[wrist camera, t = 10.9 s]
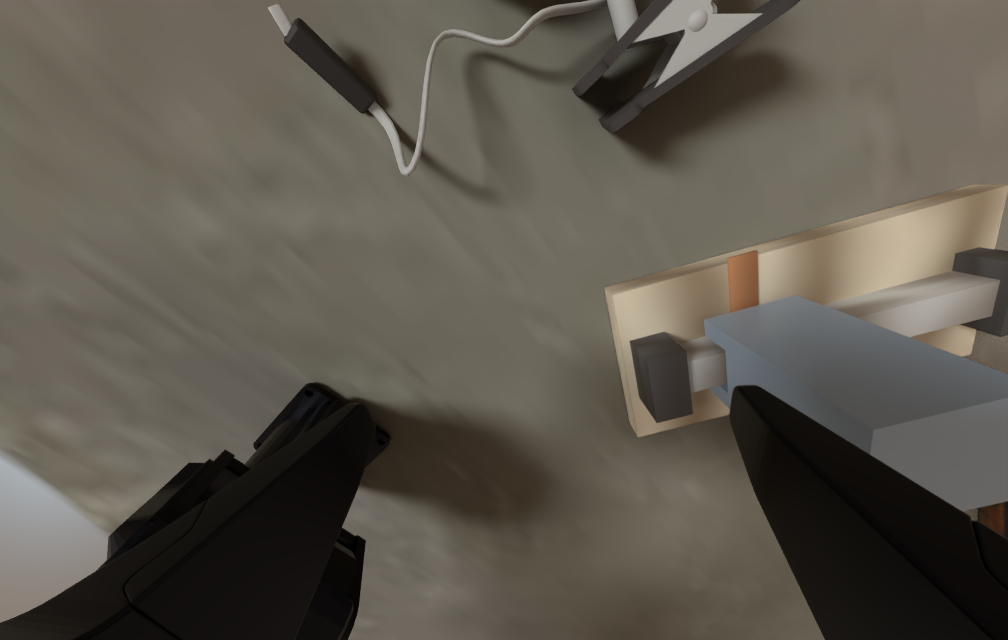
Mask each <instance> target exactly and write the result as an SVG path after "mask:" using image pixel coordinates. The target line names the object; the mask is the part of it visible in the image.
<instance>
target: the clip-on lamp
mask: <svg viewBox="0 0 1008 640" xmlns="http://www.w3.org/2000/svg"><path fill="white" fill-rule="evenodd" d="M799 1H800V0H770V1H769V2H767V3H765V4H764V5H762V6H761V7H759V8H758V9H757V10H755V11H754V12H752V13H751V14H717V12H718V10H717V6H716V4H715V3H714V2H712V0H653V2H652V3H651V4H650V5H649V6H648V7H647V8H646V10H645V11H644V12H643V13H642V14H641V15H640V16H639V17H638V13H637V8H636V4H635V0H588V1H583V2H576V3H568V4H561V5H554V6H551V7H548V8H545V9H542V10H540V11H539V12H538V13H536V14H535V15H533V16H532V17H531V18H530V19H529V20H528V21H527V22H526V23H525V24H524V25H523V27H522V28H521V29H520V30H519V31H518V32H517V33H516V34H515V35H513V36H512V37H511V38H508V39H505V40H495V39H491V38H486V37H483V36H480V35H477V34H474V33H470V32H467V31H463V30H456V29H451V30H447V31H443V32H442V33H441V34H440V35H439V36H438V37H437V38H436V39H435V41H434V42H433V44H432V47H431V50H430V53H429V56H428V59H427V65H426V72H425V78H424V85H423V95H422V106H421V116H420V125H419V134H418V139H417V144H416V149H415V153H414V156H413V158H412V161H411V164H410V165H409V166H408V167H407V166H406V163H405V159H404V155H403V150H402V146H401V142H400V139H399V135H398V133H397V131H396V128H395V126H394V124H393V122H392V120H391V119H390V118H389V117H388V115H387V114H386V113H385V111H384V110H383V109H382V108H381V107H380V106H379V105H378V104H377V103H376V102H375V101H376V93H375V91H374V90H373V89H372V88H371V87H370V86H369V85H368V84H367V83H366V82H365V81H364V80H363V79H362V78H361V77H360V76H359V75H358V74H357V73H356V72H355V71H354V70H352V69H351V68H350V67H349V66H348V65H347V64H346V63H345V62H344V61H343V60H342V59H341V58H340V57H339V56H338V55H337V54H336V53H335V52H334V51H333V50H332V49H331V48H330V47H329V46H328V45H327V44H326V43H325V42H324V41H323V40H322V39H321V38H320V37H319V36H318V35H317V34H316V33H315V32H314V31H313V30H312V29H311V28H310V27H309V26H308V25H307V24H306V23H305V22H304V21H303V20H302V19H300V18H297V19H295V21H294V22H293V24H292V23H291V21H290V19H289V17H288V16H287V14H286V12H285V10H284V9H283V7H282V5H281V4H276V5H273V6H270V7H268V9H269V11H270V12H271V14H272V16H273V17H274V19H275V21H276V22H277V24H278V26H279V27H280V29H281V31H282V32H283V34H284V35H285V37H284V43H285V44H286V45H287V46H288V47H289V48H290V49H291V50H292V51H293V52H294V53H296V54H297V55H298V56H299V57H300V58H301V59H302V60H303V61H304V62H305V63H306V64H308V65H309V66H310V67H311V68H312V69H313V70H314V71H315V72H316V73H317V74H319V75H320V76H321V77H322V78H323V79H324V80H325V81H326V82H327V83H328V84H330V85H331V86H332V87H333V88H334V89H335V90H336V91H337V92H338V93H339V94H341V95H342V96H343V97H344V98H345V99H346V100H347V101H348V102H349V103H350V104H352V105H353V106H354V107H355V108H356V109H357V110H358V111H359V112H360V113H362V114H363V113H365V112H366V111H367V110H369V111H370V112H371V113H372V114H373V115H374V116H375V117H376V118H377V119H378V121H379V122H380V123H381V125H382V126H383V127H384V128H385V130H386V132H387V134H388V136H389V138H390V140H391V143H392V146H393V149H394V152H395V156H396V160H397V164H398V167H399V169H400V172H401V174H402V175H406V176H409V175H410V174H411V173H412V172H413V171H414V170H415V168H416V166H417V164H418V161H419V159H420V156H421V151H422V147H423V142H424V138H425V129H426V120H427V110H428V98H429V86H430V78H431V69H432V62H433V59H434V55H435V51H436V48H437V46H438V45H439V44H440V43H441V42H442V41H443V40H444V39H447V38H451V37H460V38H467V39H470V40H474V41H477V42H480V43H484V44H487V45H492V46H496V47H510V46H514V45H516V44H518V43H519V42H520V41H522V40H523V39H524V38H525V37H526V36H527V35H528V33H529V32H530V31H531V30H532V29H533V28H534V27H535V26H536V25H538V24H539V23H540V22H542V21H543V20H545V19H548V18H551V17H554V16H562V15H570V14H578V13H583V12H587V11H592V10H595V9H598V8H601V7H603V6H606V5H608V7H609V11H610V15H611V18H612V22H613V26H614V30H615V34H616V37H617V42H616V43H615V45H614V46H613V47H612V48H611V49H610V50H609V51H608V52H607V53H606V54H605V55H604V57H603V58H602V59H601V60H600V61H599V62H598V63H597V64H596V65H595V66H594V67H593V68H592V69H591V70H590V71H589V72H588V73H587V74H586V75H585V76H584V77H583V78H582V79H581V80H580V81H579V82H578V83H577V84H576V85H575V86H574V87H573V88H572V90H573V91H574V93H575V94H576V96H581V95H582V94H583V93H584V92H585V91H586V90H587V89H588V88H589V87H590V86H591V85H592V84H593V83H594V82H596V81H597V80H598V79H599V78H600V77H601V76H602V75H603V74H604V73H605V72H606V71H607V70H608V68H609V67H610V66H611V65H612V64H613V62H614V61H615V60H616V59H617V58H618V57H619V56H620V55H621V54H622V53H623V52H624V51H625V50H626V49H629V48H633V47H637V46H641V45H645V44H648V43H652V42H656V41H660V40H665V42H666V43H667V45H666V47H665V49H664V51H663V53H662V54H661V56H660V58H659V60H658V62H657V63H656V65H655V67H654V69H653V71H652V72H651V74H650V76H649V78H648V80H647V82H646V83H645V85H644V87H643V89H642V90H640V91H639V92H637V93H636V94H634V95H633V96H632V97H630V98H629V99H627V100H626V101H623V102H621V103H619V104H618V105H617V106H615V107H614V108H613V109H611V110H610V111H609V112H607V113H606V114H605V115H604V116H602V117H601V118H600V119H599V121H600V123H601V125H602V127H603V128H605V129H607V130H608V131H610V132H611V133H614V132H615V131H617V130H618V129H620V128H621V127H623V126H624V125H625V124H627V123H628V122H630V121H631V120H632V119H634V118H635V117H636V116H638V115H639V114H640V113H641V112H642V111H641V109H642V108H644V107H645V106H647V105H648V104H650V103H651V102H653V101H654V100H656V99H657V98H659V97H660V96H662V95H663V94H665V93H666V92H668V91H669V90H671V89H672V88H674V87H675V86H677V85H678V84H680V83H681V82H683V81H684V80H686V79H687V78H689V77H690V76H692V75H693V74H695V73H696V72H697V71H699V70H700V69H702V68H703V67H705V66H706V65H708V64H709V63H711V62H712V61H714V60H715V59H717V58H718V57H720V56H721V55H723V54H724V53H726V52H727V51H729V50H730V49H732V48H733V47H735V46H736V45H738V44H739V43H741V42H742V41H744V40H745V39H747V38H748V37H750V36H751V35H752V34H754V33H755V32H757V31H758V30H760V29H761V28H763V27H764V26H766V25H767V24H769V23H770V22H772V21H773V20H775V19H776V18H778V17H779V16H781V15H782V14H784V13H785V12H787V11H788V10H789V9H791V8H792V7H793V6H795V5H796V4H797V3H798V2H799Z"/></svg>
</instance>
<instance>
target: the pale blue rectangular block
mask: <svg viewBox="0 0 1008 640" xmlns="http://www.w3.org/2000/svg"><path fill="white" fill-rule="evenodd" d="M704 328H705V336H706V337H708V338H709V339H710V340H712V341H713V342H715V343H716V344H717V345H719V346H720V347H721V348H723V349H724V350H725V352H726V368H727V384H724V385H720V386H716V387H713V388H710V391H711V392H712V393H713V394H714V395H715V396H716V397H718V398H719V399H720V400H721V401H722V402H723V403H724V404H725V405H726V406H727V407H728V408H729V409H730V405H731V399H732V392H733V389H734V387H735V386H738V385H758V386H760V387H761V388H763V389H765V390H766V391H768V392H770V393H771V394H773V395H774V396H776V397H778V398H779V399H781V400H783V401H784V402H786V403H787V404H789V405H791V406H792V407H794V408H796V409H797V410H799V411H800V412H802V413H804V414H805V415H807V416H809V417H810V418H812V419H813V420H815V421H817V422H818V423H820V424H822V425H823V426H825V427H826V428H828V429H830V430H831V431H833V432H834V433H836V434H838V435H839V436H841V437H843V438H844V439H846V440H847V441H849V442H851V443H852V444H854V445H856V446H857V447H859V448H860V449H862V450H864V451H865V452H867V453H869V454H870V455H872V456H873V457H875V458H877V459H878V460H880V461H882V462H883V463H885V464H886V465H888V466H890V467H891V468H893V469H895V470H896V471H898V472H899V473H901V474H903V475H904V476H906V477H907V478H909V479H911V480H912V481H914V482H916V483H917V484H919V485H920V486H922V487H924V488H925V489H927V490H929V491H930V492H932V493H933V494H935V495H937V496H938V497H940V498H942V499H943V500H945V501H946V502H948V503H950V504H951V505H953V506H955V507H956V508H958V509H959V510H961V511H966V510H971V509H975V508H980V507H984V506H989V505H993V504H998V503H1002V502H1007V501H1008V374H1006V373H1004V372H1001V371H998V370H996V369H993V368H990V367H988V366H985V365H982V364H980V363H977V362H974V361H971V360H969V359H966V358H963V357H961V356H958V355H955V354H953V353H950V352H947V351H945V350H942V349H939V348H937V347H934V346H931V345H929V344H926V343H923V342H921V341H918V340H915V339H913V338H910V337H907V336H905V335H902V334H899V333H896V332H894V331H891V330H888V329H886V328H883V327H880V326H878V325H875V324H872V323H870V322H867V321H864V320H862V319H859V318H856V317H854V316H851V315H848V314H846V313H843V312H840V311H838V310H835V309H832V308H830V307H827V306H824V305H822V304H819V303H816V302H813V301H811V300H808V299H805V298H803V297H800V296H797V295H794V296H791V297H787V298H783V299H779V300H776V301H772V302H768V303H765V304H761V305H757V306H753V307H750V308H746V309H742V310H739V311H735V312H731V313H727V314H724V315H720V316H716V317H712V318H709V319H705V320H704Z"/></svg>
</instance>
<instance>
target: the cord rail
mask: <svg viewBox="0 0 1008 640" xmlns="http://www.w3.org/2000/svg"><path fill="white" fill-rule="evenodd" d="M1007 192H1008V185H969V186H966V187H962V188H958V189H955V190H951V191H948V192H944V193H941V194H937V195H933V196H930V197H926V198H923V199H919V200H916V201H912V202H908V203H905V204H901V205H898V206H894V207H891V208H887V209H883V210H880V211H876V212H873V213H869V214H866V215H862V216H858V217H855V218H851V219H848V220H844V221H841V222H837V223H833V224H830V225H826V226H823V227H819V228H816V229H812V230H808V231H805V232H801V233H798V234H794V235H791V236H787V237H783V238H780V239H776V240H773V241H769V242H766V243H762V244H759V245H755V246H751V247H748V248H744V249H741V250H737V251H734V252H730V253H726V254H723V255H719V256H716V257H712V258H709V259H705V260H701V261H698V262H694V263H691V264H687V265H684V266H680V267H676V268H673V269H669V270H666V271H662V272H659V273H655V274H651V275H648V276H644V277H641V278H637V279H634V280H630V281H626V282H623V283H619V284H616V285H612V286H609V287H605V288H604V289H605V295H606V300H607V305H608V311H609V316H610V321H611V327H612V332H613V337H614V343H615V348H616V353H617V359H618V364H619V369H620V374H621V380H622V385H623V390H624V396H625V401H626V406H627V412H628V417H629V422H630V424H631V426H632V428H633V430H634V431H635V433H636V435H637V437H642V436H646V435H650V434H654V433H658V432H662V431H666V430H670V429H674V428H678V427H682V426H686V425H690V424H694V423H698V422H702V421H706V420H710V419H714V418H718V417H722V416H726V415H729V412H730V409H729V408H728V407H727V406H726V405H725V404H724V403H723V402H722V401H721V400H720V399H719V398H718V397H716V396H715V395H714V394H713V393H712V392H711V391H710V388H713V387H716V386H720V385H724V384H727V368H726V352H725V350H724V349H723V348H721V347H720V346H719V345H717V344H716V343H715V342H713V341H712V340H710V339H709V338H708V337H706V336H705V328H704V320H705V319H709V318H712V317H716V316H720V315H724V314H727V313H731V312H735V311H739V310H742V309H746V308H750V307H753V306H757V305H761V304H765V303H768V302H772V301H776V300H779V299H783V298H787V297H791V296H794V295H797V296H800V297H803V298H805V299H808V300H811V301H813V302H816V303H819V304H822V305H824V306H827V307H830V308H832V309H835V310H838V311H840V312H843V313H846V314H848V315H851V316H854V317H856V318H859V319H862V320H864V321H867V322H870V323H872V324H875V325H878V326H880V327H883V328H886V329H888V330H891V331H894V332H896V333H899V334H902V335H905V336H907V337H910V338H913V339H915V340H918V341H921V342H923V343H926V344H929V345H931V346H934V347H937V348H939V349H942V350H945V351H947V352H950V353H953V354H955V355H958V356H961V357H962V356H966V355H970V354H971V352H972V347H973V343H974V339H975V334H976V330H979V331H983V332H986V333H989V334H992V335H996V336H999V337H1002V336H1006V335H1008V251H1003V250H996V249H995V245H996V241H997V237H998V232H999V228H1000V223H1001V219H1002V214H1003V210H1004V206H1005V201H1006V197H1007Z"/></svg>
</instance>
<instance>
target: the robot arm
mask: <svg viewBox="0 0 1008 640" xmlns="http://www.w3.org/2000/svg"><path fill="white" fill-rule="evenodd" d="M308 390H311V391H312V392H313V393H310V392H309V391H308ZM729 418H730V423H731V426H732V429H733V432H734V435H735V438H736V441H737V444H738V447H739V450H740V452H741V455H742V458H743V461H744V464H745V467H746V470H747V473H748V475H749V478H750V481H751V484H752V487H753V489H754V492H755V494H756V496H757V499H758V501H759V503H760V505H761V507H762V509H763V511H764V514H765V516H766V518H767V520H768V522H769V524H770V526H771V528H772V530H773V532H774V534H775V536H776V539H777V541H778V543H779V545H780V547H781V549H782V551H783V553H784V555H785V557H786V559H787V561H788V564H789V566H790V568H791V570H792V572H793V574H794V576H795V578H796V580H797V582H798V584H799V586H800V589H801V591H802V593H803V595H804V597H805V599H806V601H807V603H808V605H809V607H810V609H811V611H812V614H813V616H814V618H815V620H816V622H817V624H818V626H819V628H820V630H821V632H822V634H823V636H824V639H825V640H1008V539H1007V538H1005V537H1004V536H1002V535H1000V534H999V533H997V532H995V531H994V530H992V529H991V528H989V527H987V526H986V525H984V524H982V523H981V522H979V521H976V520H974V521H972V519H971V517H970V516H969V515H968V514H966V513H964V512H963V511H961V510H959V509H958V508H956V507H955V506H953V505H951V504H950V503H948V502H946V501H945V500H943V499H942V498H940V497H938V496H937V495H935V494H933V493H932V492H930V491H929V490H927V489H925V488H924V487H922V486H920V485H919V484H917V483H916V482H914V481H912V480H911V479H909V478H907V477H906V476H904V475H903V474H901V473H899V472H898V471H896V470H895V469H893V468H891V467H890V466H888V465H886V464H885V463H883V462H882V461H880V460H878V459H877V458H875V457H873V456H872V455H870V454H869V453H867V452H865V451H864V450H862V449H860V448H859V447H857V446H856V445H854V444H852V443H851V442H849V441H847V440H846V439H844V438H843V437H841V436H839V435H838V434H836V433H834V432H833V431H831V430H830V429H828V428H826V427H825V426H823V425H822V424H820V423H818V422H817V421H815V420H813V419H812V418H810V417H809V416H807V415H805V414H804V413H802V412H800V411H799V410H797V409H796V408H794V407H792V406H791V405H789V404H787V403H786V402H784V401H783V400H781V399H779V398H778V397H776V396H774V395H773V394H771V393H770V392H768V391H766V390H765V389H763V388H761V387H760V386H758V385H738V386H735V387H734V389H733V392H732V399H731V405H730V412H729ZM380 439H384V440H385V441H381V440H380ZM390 440H391V437H390V435H389V434H388V433H386V432H385V431H383V430H382V429H381V428H379V427H378V426H376V425H375V422H374V420H373V418H372V416H371V414H370V412H369V411H368V409H367V407H366V405H365V404H363V403H350V404H347V405H345V404H344V403H342V402H341V401H339V400H338V399H337V398H335V397H334V396H332V395H331V394H329V393H328V392H326V391H325V390H323V389H322V388H320V387H319V386H318V385H316V384H314V383H308V384H306V385H305V386H304V387H303V388H302V389H301V390H300V392H299V393H298V394H297V395H296V396H295V397H294V398H293V399H292V401H291V402H290V403H289V404H288V405H287V406H286V407H285V408H284V410H283V411H282V412H281V413H280V414H279V415H278V416H277V417H276V419H275V420H274V421H273V422H272V423H271V424H270V425H269V426H268V428H267V429H266V430H265V431H264V432H263V433H262V434H261V436H260V437H259V438H258V439H257V440H256V441H255V442H254V444H253V445H254V448H255V449H256V450H257V451H256V452H255V453H254V454H253V455H252V456H251V458H250V459H249V460H248V461H247V462H246V463H245V465H244V464H243V463H241V462H240V461H238V460H236V459H235V458H234V456H235V455H233V454H232V453H230V452H228V451H227V450H224V451H223V452H222V453H221V454H220V455H219V456H218V457H217V458H216V459H215V460H214V461H212V460H211V459H209V460H208V461H207V462H205V463H188V464H187V465H186V466H185V467H184V468H183V469H182V470H181V471H180V472H179V473H178V474H177V475H176V476H174V477H173V478H172V479H171V480H170V481H169V482H168V483H167V484H166V485H165V486H164V487H163V488H162V489H161V490H159V491H158V492H157V493H156V494H155V495H154V496H153V497H152V498H151V499H149V500H148V501H147V502H146V503H145V504H144V505H143V506H142V507H140V508H139V509H138V510H137V511H136V512H135V513H134V514H133V515H131V516H130V517H129V518H128V519H127V520H126V521H125V522H124V523H123V524H122V525H121V526H119V527H118V528H117V529H116V530H115V531H114V532H113V533H112V534H111V535H110V536H109V538H108V551H107V560H106V561H105V562H104V563H103V564H102V565H101V566H100V568H98V570H96V571H95V572H94V573H92V574H91V575H89V576H87V577H86V578H84V579H83V580H81V581H79V582H78V583H76V584H75V585H73V586H71V587H70V588H68V589H67V590H65V591H63V592H62V593H60V594H58V595H57V596H55V597H53V598H52V599H50V600H48V601H47V602H45V603H44V604H42V605H40V606H38V607H36V608H34V609H32V610H30V611H28V612H26V613H24V614H21V615H19V616H17V617H14V618H12V619H9V620H7V621H4V622H1V623H0V640H348V638H349V636H350V633H351V631H352V628H353V626H354V623H355V619H356V616H357V612H358V607H359V599H360V590H361V580H362V571H363V562H364V552H365V543H366V540H364V539H363V538H361V537H360V536H358V535H357V536H354V535H353V534H351V533H350V532H348V531H347V530H345V529H344V528H342V526H343V523H344V521H345V518H346V516H347V514H348V511H349V509H350V506H351V504H352V502H353V499H354V497H355V494H356V492H357V489H358V487H359V484H360V481H361V478H362V475H363V472H364V468H365V467H366V466H367V465H369V464H370V463H371V462H372V461H373V460H374V459H375V458H376V457H377V456H378V455H379V454H380V453H381V452H382V451H383V450H384V449H385V448H386V447H387V446H388V445H389V443H390Z"/></svg>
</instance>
